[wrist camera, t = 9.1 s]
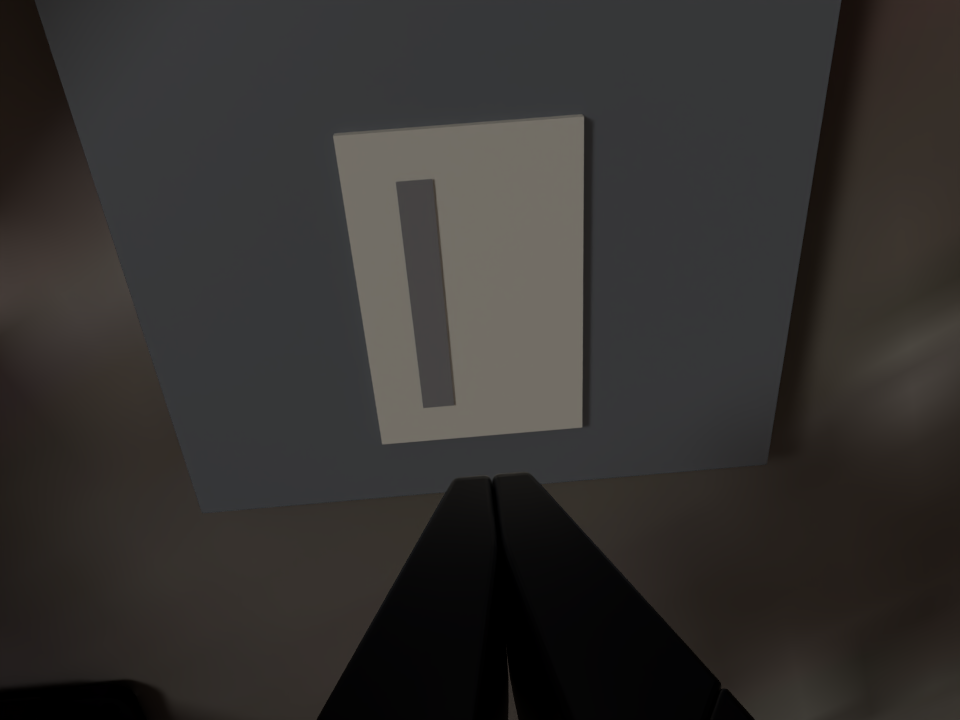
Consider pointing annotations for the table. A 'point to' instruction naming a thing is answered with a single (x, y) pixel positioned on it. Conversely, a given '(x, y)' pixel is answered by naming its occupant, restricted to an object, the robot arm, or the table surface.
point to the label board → (453, 229)
